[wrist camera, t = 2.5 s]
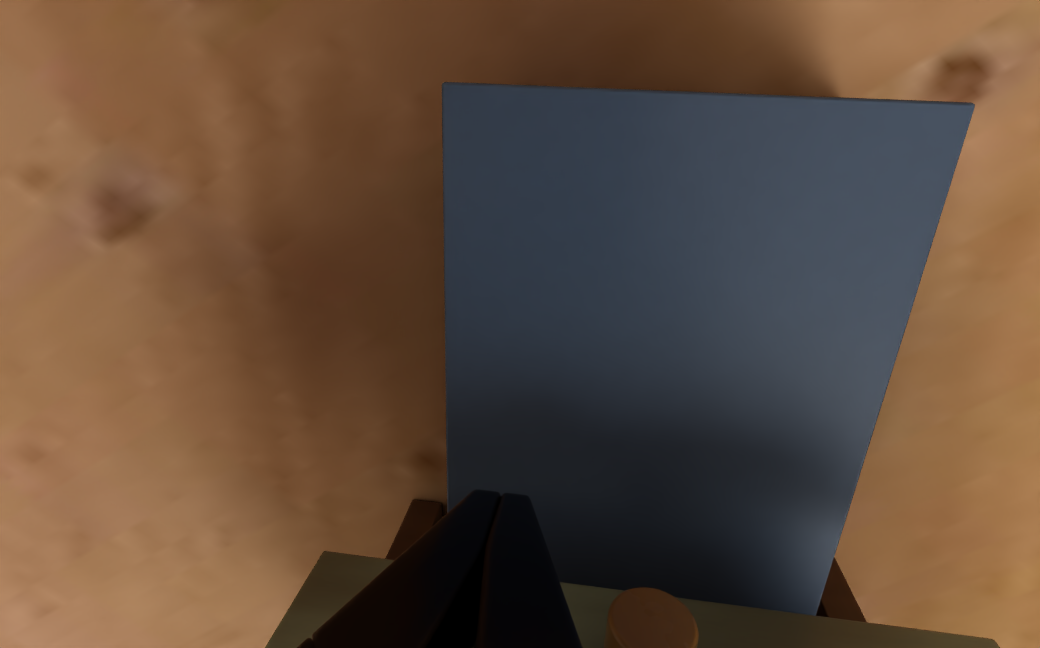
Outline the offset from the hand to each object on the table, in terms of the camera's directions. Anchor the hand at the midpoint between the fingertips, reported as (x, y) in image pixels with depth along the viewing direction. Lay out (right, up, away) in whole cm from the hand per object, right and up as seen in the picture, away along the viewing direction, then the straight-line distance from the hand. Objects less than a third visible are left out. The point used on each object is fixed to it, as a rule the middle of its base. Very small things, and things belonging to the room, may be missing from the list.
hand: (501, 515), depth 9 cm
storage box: (+3, +3, +7) cm, 8 cm away
